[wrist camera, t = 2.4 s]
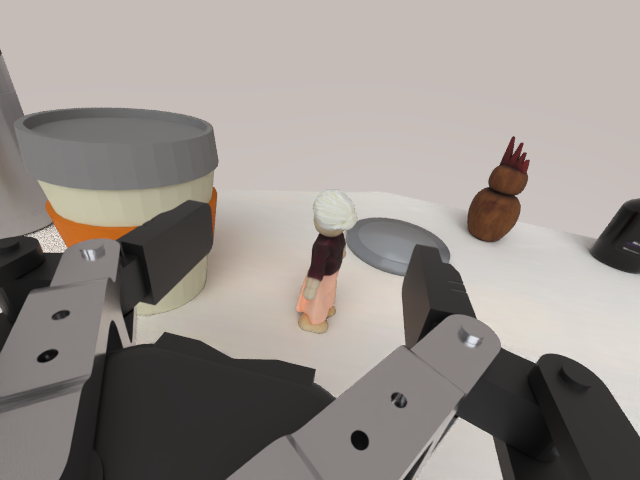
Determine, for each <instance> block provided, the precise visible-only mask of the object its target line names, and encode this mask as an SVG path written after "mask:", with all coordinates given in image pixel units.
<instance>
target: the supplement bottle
mask: <svg viewBox="0 0 640 480" xmlns="http://www.w3.org/2000/svg"><path fill="white" fill-rule="evenodd" d="M591 252H592V254H593V255H594V256H595V257H596V258H597V259H598V260H600V261H602V262H603V263H605V264H607V265H609V266H611V267H614V268H616V269H619V270H622V271H625V272H629V273H635V274H640V199H633V200H629V201H627V202H625V203H624V204H623V205H622V206H621V208H620V209H619V211H618V212H617V213H616V215H615V216H614V217H613V219H612V220H611V222H610V223H609V224H608V226H607V227H606V228H605V230H604V231H603V233H602V234H601V235H600V237H599V238H598V240H597V241H596V242H595V244H594V245H593V247H592V248H591Z"/></svg>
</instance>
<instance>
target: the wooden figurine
mask: <svg viewBox="0 0 640 480" xmlns="http://www.w3.org/2000/svg"><path fill="white" fill-rule="evenodd" d="M514 141H515V137H514V136H513V137H512V139H511V141H510V143H509V145H508V147H507V149H506V152H505V154H504V156H503V158H502V161H501V163H500V165H499V166H498V167H496V168H495V169H494V170H493V172H492V173H491V175H490V177H489V187H487V188H484V189H483V190H481V191H480V192H478V194H477V195H476V196H475V197H474V199H473V201H472V203H471V205H470V208H469V212H468V220H467V222H468V229H469V231H470V233H471V234H472V235H474V236H475V237H477V238H479V239H481V240H484V241H489V242H492V241H498V240H500V239H501V238H502V237H503V236H505V235H506V234H507V233H508V232H509V231H510V230H511V229H512V228H513V226H514V225H515V224H516V222H517V220H518V217H519V214H520V208H521V205H520V202H519V200H518V198H517V197H515V196H514V195H518V194H519V193H521V192H522V191H523V190H524V188H525V186H526V184H527V181H528V175H527V169H528V166H529V161H530V160H526V161H525V162H524V160H525V157H526V154H527V153H523V154H522V155H521V157H520V153H521V150H522V147H523V143H520V145H519V147H518V148H517V150H516V151H515V153H514V154H513V148H514ZM512 154H513V156H512ZM519 157H520V158H519Z"/></svg>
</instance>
